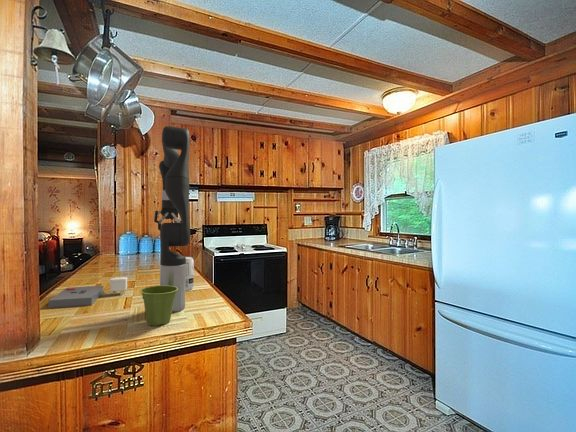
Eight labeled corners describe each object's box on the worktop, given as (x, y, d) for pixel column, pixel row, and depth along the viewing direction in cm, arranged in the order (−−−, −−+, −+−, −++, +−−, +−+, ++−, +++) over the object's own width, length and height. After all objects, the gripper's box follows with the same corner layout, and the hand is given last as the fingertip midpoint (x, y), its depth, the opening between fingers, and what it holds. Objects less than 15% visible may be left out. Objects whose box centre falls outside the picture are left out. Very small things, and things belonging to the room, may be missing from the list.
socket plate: (91, 305, 119) (91, 296, 119) (48, 308, 114) (48, 298, 114) (103, 292, 138) (103, 284, 138) (66, 294, 133) (67, 286, 133)
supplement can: (172, 288, 147) (173, 257, 146) (188, 285, 153) (188, 256, 152) (180, 291, 141) (181, 259, 141) (196, 288, 147) (197, 258, 147)
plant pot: (176, 327, 98) (177, 292, 98) (136, 330, 95) (136, 294, 95) (178, 315, 110) (179, 284, 110) (143, 317, 106) (143, 285, 106)
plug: (125, 294, 134) (125, 279, 134) (110, 295, 132) (110, 279, 132) (127, 292, 138) (127, 276, 138) (112, 293, 136) (112, 277, 136)
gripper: (155, 198, 149) (154, 231, 149) (185, 199, 156) (184, 231, 156) (154, 199, 156) (153, 230, 156) (182, 200, 162) (182, 230, 162)
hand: (169, 231), depth 156 cm, fingers open, 8 cm apart
